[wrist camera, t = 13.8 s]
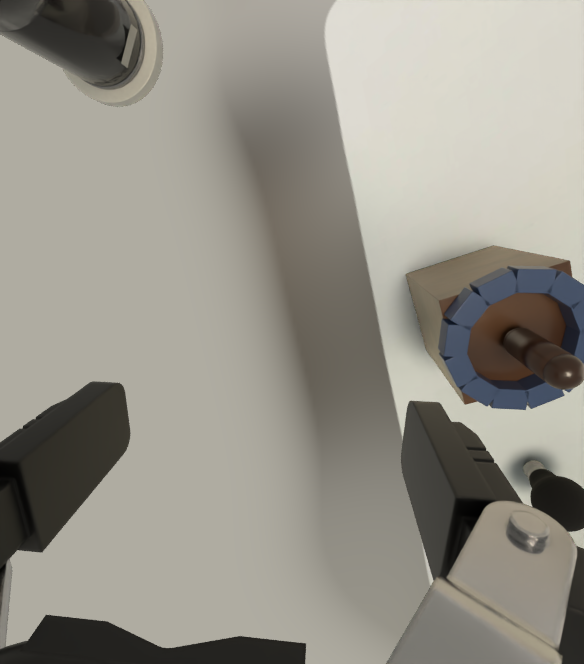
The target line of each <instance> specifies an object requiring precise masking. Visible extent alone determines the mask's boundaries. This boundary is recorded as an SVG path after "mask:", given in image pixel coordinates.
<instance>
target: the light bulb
mask: <svg viewBox="0 0 584 664" xmlns="http://www.w3.org/2000/svg"><path fill="white" fill-rule="evenodd" d="M523 471H524V473H525V474H526V476H527V477H528V478H529V481H530V485H531V487H532V491H531V504H532V506H533V508H536V509H538V510H540V511H542V512H544V513H545V514H547V515H548V516H550V517H551V518H553V519H554V520H556V521H557V522H558V523H559V524H560V525H561V526H563V527H564V528H565V530H566V531H567V532H572V531H578V530H581V529H583V528H584V489H583V488H582V487H581V486H580V485H578V484H577V483H576V482H574V481H572V480H570V479H568V478H565V477H560V476H556V475H554V474H553V473H552V472H550V471H549V470H547V469H546V468H545V467H544V466H543V465H542V463H540V462H538V461H535V460H532V461H528V462H527V463H526V464H525V465H524V467H523Z"/></svg>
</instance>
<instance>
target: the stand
mask: <svg viewBox="0 0 584 664" xmlns="http://www.w3.org/2000/svg"><path fill="white" fill-rule="evenodd" d="M508 266H545V267H549V268H553V269H556V270H559V271H563V272H565V273H566V274H568V275H569V276H571V277H572V271H571V264H570V261H569V260H564V259H559V258H554V257H549V256H544V255H539V254H534V253H529V252H524V251H519V250H513V249H508V248H503V247H498V246H491V247H488V248H484V249H481V250H478V251H475V252H472V253H469V254H466V255H463V256H460V257H457V258H454V259H450V260H447V261H444V262H441V263H438V264H435V265H432V266H429V267H426V268H423V269H420V270H416V271H413V272H410V273H407V274H406V277H407V281H408V285H409V288H410V292H411V296H412V300H413V303H414V307H415V311H416V314H417V318H418V322H419V325H420V329H421V333H422V337H423V340H424V344H425V348H426V350H427V352H428V353H429V354H430V356H431V357H432V359H433V360H434V362H435V363H436V364H437V366H438V367H439V369H440V370H441V371H442V373H443V374H444V376H445V377H446V379H447V380H448V381H449V383H450V384H451V386H452V387H453V388H454V390H455V391H456V393H457V394H458V396H459V397H460V398H461V400H462V401H463V403H464V404H469V403H473V402H477V400H475V399H473V398H472V397H470V396H468V395H467V394H465V393H463V392H462V391H461V390H460V389H459V388H458V387H457V386H456V385H455V384H454V382H453V381H452V379H451V378H450V376H449V374H448V372H447V370H446V368H445V366H444V364H443V362H442V360H441V358H440V355H439V353H440V351H439V350H438V344H439V336H440V329H441V321H442V319H449V318H447V317H446V316H445V315H444V313H445V312H446V311H447V309H448V308H449V307H450V305H451V304H452V303H453V302H454V300H455V299H456V298H457V296H458V295H459V294H460V292H461V291H462V290H463V288H464V287H466V288H468V289H470V290H472V289H471V287H470V285H469V283H471V282H473V281H475V280H477V279H479V278H481V277H483V276H485V275H487V274H489V273H491V272H493V271H495V270H497V269H499V268H501V267H503V268H506V269H507V267H508ZM565 329H566V323H565V321H564V318H563V316H562V313H561V310H560V308H559V305H558V303H557V302H555V301H554V300H552V299H551V298H549V297H547V296H546V295H544V294H543V293H516V294H513V295H511V296H509V297H507V298H505V299H503V300H501V301H499V302H496V303H494V304H492V305H490V306H489V307H488V308H487V309H486V311H485V312H484V313H483V314H482V316H481V317H480V318H479V319H478V321H477V322H476V323H475V324H474V326H473V327H472V328H471V333H470V339H469V345H468V351H467V355H468V357H469V359H470V361H471V363H472V365H473V368H474V370H475V371H476V372H478V373H480V374H481V375H483V376H485V377H486V378H488V379H490V380H503V381H518V380H520V379H523V378H525V377H527V376H530V375H532V374H536V375H537V376H538V377H540V378H541V379H542V380H543V381H545V382H546V383H547V384H549V385H550V386H552V387H554V388H557V389H562V390H566V389H572V388H575V387H577V386H578V385H580V384H581V383H582V382H583V380H584V364H583V363H582V361H581V360H580V359H578V358H577V357H576V356H574V355H572V354H571V353H569V352H567V351H565V350H564V349H562V348H561V345H562V341H563V337H564V333H565Z"/></svg>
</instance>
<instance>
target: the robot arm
mask: <svg viewBox="0 0 584 664" xmlns="http://www.w3.org/2000/svg"><path fill="white" fill-rule="evenodd" d="M0 35H2V36H4V37H6V38H8V39H10V40H11V41H13V42H15V43H17V44H19V45H21V46H23V47H25V48H26V49H28V50H30V51H32V52H34V53H35V54H37V55H39V56H41V57H43V58H45V59H46V60H48V61H50V62H52V63H54V64H56V65H57V66H59V67H61V68H63V69H65V70H67V71H68V72H70V73H72V74H74V75H76V76H78V77H79V78H81V79H82V80H84V81H85V82H87V83H89V84H90V85H92V86H94V87H97V88H100V89H104V90H115V89H119V88H122V87H124V86H125V85H127V84H128V83H130V82H131V81H132V80H133V79H134V78H135V77H136V75H137V74H138V72H139V70H140V68H141V66H142V63H143V60H144V55H145V36H144V30H143V27H142V24H141V21H140V19H139V16H138V15H137V13H136V11H135V10H134V8H133V7H132V5H131V4H130V3H129V2H128V1H127V0H0ZM129 440H130V426H129V418H128V411H127V404H126V396H125V390H124V387H123V386H122V385H121V384H120V383H111V382H90V383H89V384H87V385H86V386H85V387H83V388H82V389H81V390H79V391H78V392H76V393H75V394H74V395H72V396H71V397H69V398H68V399H66V400H64V401H62V402H60V403H57V404H55V405H53V406H51V407H50V408H48V409H47V410H45V411H44V412H42V413H41V414H40V415H38V416H37V417H36V419H33V420H31V421H30V422H28V423H27V424H26V425H24V426H23V429H19V430H17V431H16V432H14V433H13V434H12V435H10V436H9V437H7V438H6V439H4V440H3V441H2V442H0V664H305V653H306V644H305V643H296V642H287V641H277V640H269V639H260V638H251V637H242V636H238V637H232V638H227V639H221V640H215V641H209V642H204V643H198V644H192V645H187V646H182V647H176V648H162V647H159V646H157V645H155V644H153V643H151V642H149V641H146V640H144V639H142V638H140V637H138V636H136V635H134V634H132V633H130V632H128V631H126V630H124V629H122V628H119V627H117V626H115V625H113V624H111V623H109V622H106V621H97V620H88V619H79V618H70V617H61V616H51V615H46V616H45V617H44V618H43V620H42V621H41V623H40V624H39V626H38V627H37V629H36V630H35V632H34V633H33V634H32V636H31V637H30V639H29V640H28V641H24V642H21V643H17V644H14V645H10V646H7V647H5V646H6V633H7V622H8V612H9V601H10V590H11V579H12V566H11V562H10V557H11V556H12V555H13V554H14V553H15V552H16V551H17V550H22V551H32V552H43V550H44V549H45V548H46V547H47V546H48V544H49V543H50V542H51V541H52V539H53V538H54V537H55V536H56V535H57V533H58V532H59V531H60V530H61V529H62V528H63V526H64V525H65V524H66V523H67V521H68V520H69V519H70V518H71V517H72V516H73V514H74V513H75V512H76V511H77V509H78V508H79V507H80V506H81V505H82V504H83V502H84V501H85V500H86V499H87V498H88V496H89V495H90V494H91V493H92V491H93V490H94V489H95V488H96V487H97V485H98V484H99V483H100V482H101V481H102V479H103V478H104V477H105V476H106V475H107V473H108V472H109V471H110V470H111V469H112V467H113V466H114V465H115V464H116V462H117V461H118V460H119V459H120V457H121V456H122V455H123V454H124V453H125V451H126V449H127V447H128V444H129ZM401 464H402V473H403V477H404V480H405V484H406V487H407V491H408V494H409V497H410V501H411V504H412V507H413V511H414V514H415V518H416V521H417V525H418V528H419V532H420V535H421V539H422V542H423V546H424V549H425V552H426V556H427V559H428V563H429V566H430V570H431V573H432V576H433V580H434V582H433V583H432V585H431V586H430V588H429V590H428V592H427V593H426V595H425V597H424V599H423V600H422V602H421V604H420V606H419V607H418V609H417V611H416V613H415V614H414V616H413V618H412V619H411V621H410V623H409V625H408V626H407V628H406V630H405V632H404V633H403V635H402V637H401V639H400V640H399V642H398V644H397V646H396V647H395V649H394V651H393V652H392V654H391V656H390V658H389V660H388V661H387V663H386V664H584V549H583V548H580V547H578V546H576V544H575V542H574V540H573V538H572V537H571V536H570V534H569V533H568V532H567V531H566V530H565V528H564V527H563V526H561V525H560V524H559V523H558V522H557V521H556V520H554V519H553V518H551V517H550V516H548V515H547V514H545V513H544V512H542V511H540V510H538V509H536V508H533V507H531V506H528V505H525V504H523V502H522V501H521V499H520V498H519V497H518V495H517V494H516V492H515V491H514V489H513V488H512V486H511V485H510V483H509V482H508V480H507V479H506V477H505V476H504V474H503V473H502V471H501V470H500V468H499V467H498V465H497V464H496V463H494V459H493V458H492V456H491V455H490V453H489V452H488V451H486V447H485V446H484V444H483V443H482V441H481V440H480V439H479V437H478V436H477V434H475V433H474V432H473V431H471V430H470V429H469V428H467V427H466V426H465V425H463V424H462V423H461V422H451V421H450V419H449V417H448V415H447V414H446V412H445V410H444V409H443V407H442V405H441V404H440V403H438V402H422V401H410V402H409V404H408V407H407V413H406V421H405V428H404V436H403V443H402V453H401Z"/></svg>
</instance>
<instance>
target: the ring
mask: <svg viewBox="0 0 584 664" xmlns="http://www.w3.org/2000/svg"><path fill="white" fill-rule="evenodd" d="M469 285H470V287H471V289H472V290H470V289H468V288H466V287H464V288H463V290H462V291H461V292H460V294H459V295H458V296H457V298H456V299H455V300H454V302H453V303H452V304H451V305H450V307H449V308H448V309H447V311H446V312H445V313H444V315H445V316H446V317H447V318H449V319H442V321H441V329H440V336H439V344H438V350H439V351H440V353H439V355H440V358H441V360H442V362H443V364H444V366H445V368H446V370H447V372H448V374H449V376H450V378H451V379H452V381H453V382H454V384H455V385H456V386H457V387H458V388H459V389H460V390H461V391H462V392H463V393H465V394H467V395H468V396H470V397H472V398H473V399H475V400H477V401H478V402H480V403H482V404H483V405H485V406H488V405H490V406H491V407H492V408H500V409H520V410H526V406H527V405H528V406H529V407H530V408H531V409H532V408H535V407H537V406H540V405H542V404H545V403H547V402H550V401H552V400H555V399H557V398H560V397H562V396H564V393H563V391H562V389H557V388H554V387H552V386H550V385H549V384H547V383H546V382H545V381H543V380H542V379H541V378H540V377H538V376H537V375H536V374H532V375H530V376H527V377H525V378H523V379H520V380H518V381H503V380H490V379H488V378H486V377H485V376H483V375H481V374H480V373H478V372H476V371H475V370H474V368H473V365H472V363H471V361H470V359H469V357H468V355H467V351H468V345H469V339H470V333H471V328H472V327H473V326H474V324H475V323H476V322H477V321H478V319H479V318H480V317H481V316H482V314H483V313H484V312H485V311H486V309H487V308H488V307H489V306H490V305H492V304H494V303H496V302H499V301H501V300H503V299H505V298H507V297H509V296H511V295H513V294H516V293H543V294H544V295H546V296H547V297H549V298H551V299H552V300H554V301H555V302H557V303H558V305H559V308H560V310H561V313H562V316H563V318H564V321H565V323H566V329H565V333H564V337H563V341H562V345H561V348H562V349H564V350H565V351H567V352H569V353H571V354H572V355H574V356H576V357H577V358H578V359H580V360H581V361H582V363H583V364H584V285H583V284H582V283H580V282H579V281H577V280H575V279H574V278H572V277H571V276H569V275H568V274H566V273H565V272H563V271H559V270H556V269H553V268H549V267H545V266H508V267H507V269H506V268H503V267H501V268H499V269H497V270H495V271H493V272H491V273H489V274H487V275H485V276H483V277H481V278H479V279H477V280H475V281H473V282H471V283H469ZM572 389H573V388H572ZM572 389H566V390H565V391H567V392H570V391H571V390H572Z"/></svg>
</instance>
